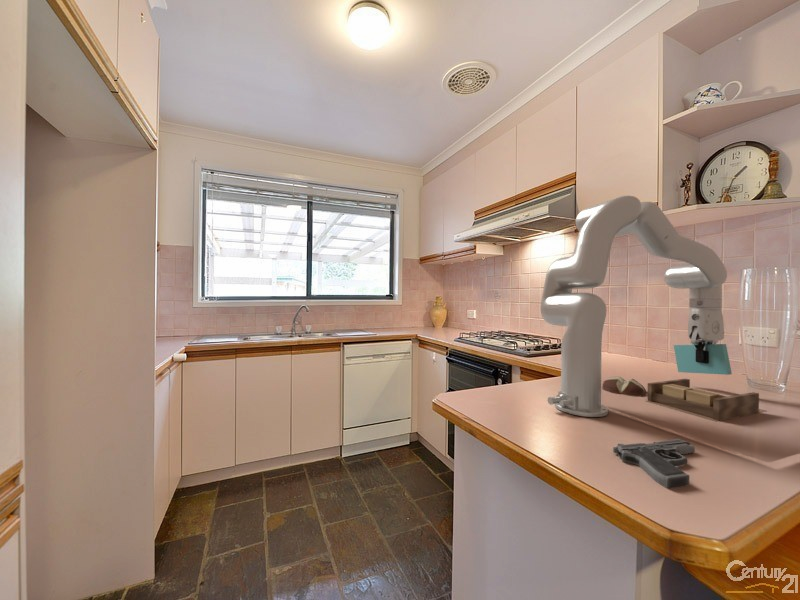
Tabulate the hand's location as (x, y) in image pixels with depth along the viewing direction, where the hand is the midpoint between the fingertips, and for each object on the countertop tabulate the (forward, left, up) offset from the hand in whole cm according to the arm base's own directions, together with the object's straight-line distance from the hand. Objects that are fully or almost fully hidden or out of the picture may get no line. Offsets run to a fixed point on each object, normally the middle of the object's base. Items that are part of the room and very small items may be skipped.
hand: (704, 362), depth 102 cm
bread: (-24, +9, -11) cm, 28 cm away
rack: (-18, -9, -10) cm, 22 cm away
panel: (0, +7, 0) cm, 7 cm away
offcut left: (-24, -6, -9) cm, 26 cm away
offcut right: (-24, -12, -9) cm, 28 cm away
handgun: (-59, -25, -11) cm, 65 cm away
